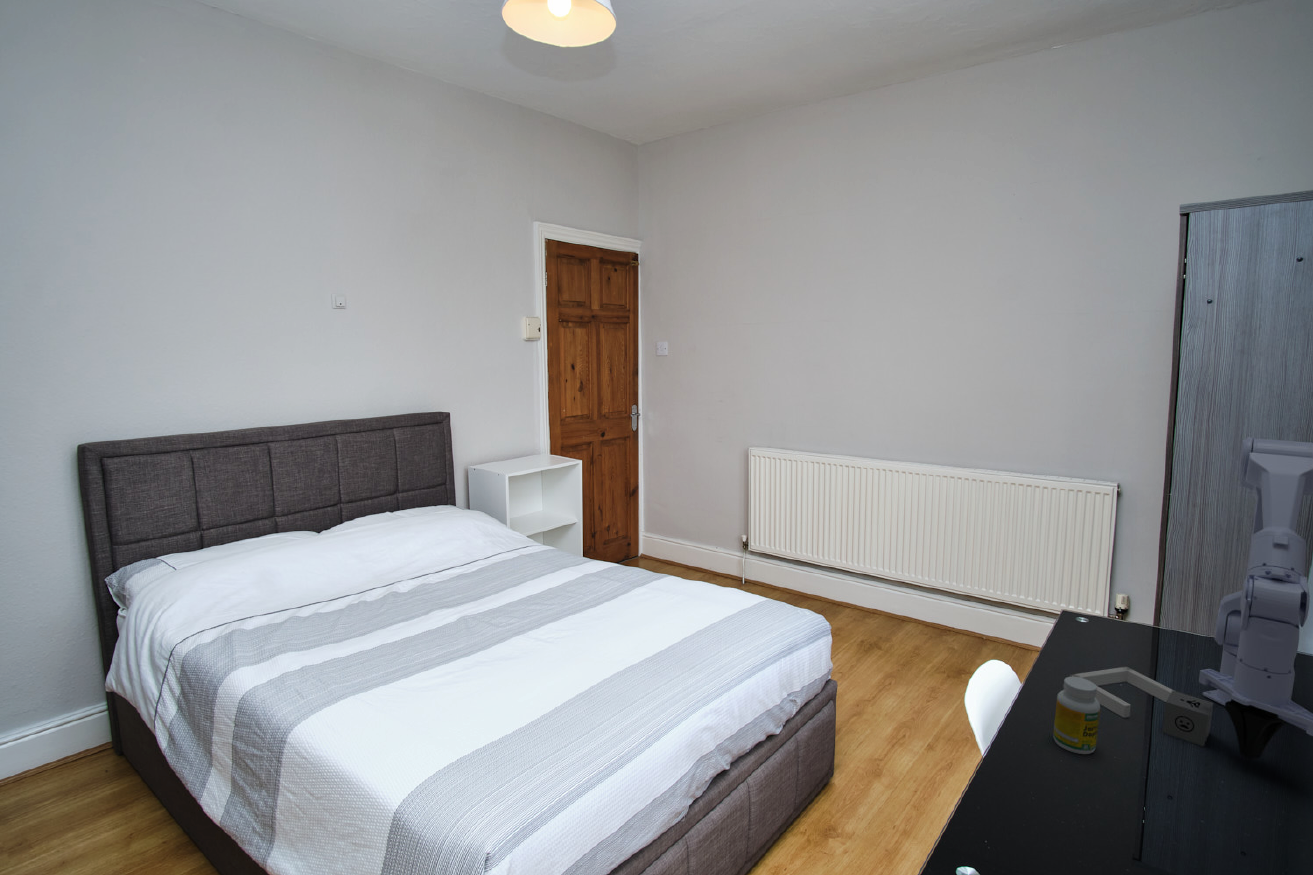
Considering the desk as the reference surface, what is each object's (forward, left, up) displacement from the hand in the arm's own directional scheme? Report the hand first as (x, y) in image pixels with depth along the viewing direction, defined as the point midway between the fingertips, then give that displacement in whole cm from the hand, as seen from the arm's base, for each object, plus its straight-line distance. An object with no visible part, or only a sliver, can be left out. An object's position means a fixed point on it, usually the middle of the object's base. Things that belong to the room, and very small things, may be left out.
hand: (1250, 755), depth 95 cm
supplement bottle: (+20, -10, -2) cm, 22 cm away
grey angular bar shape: (0, -18, -1) cm, 18 cm away
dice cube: (+1, -8, -2) cm, 9 cm away
